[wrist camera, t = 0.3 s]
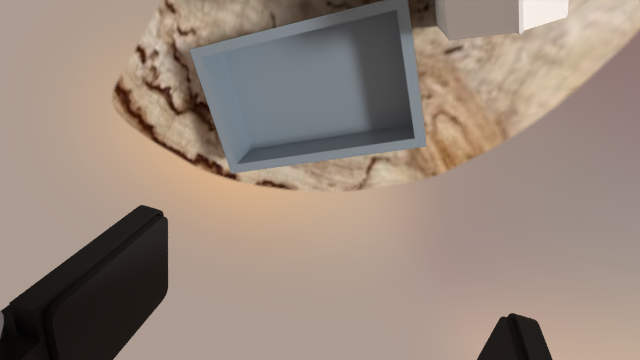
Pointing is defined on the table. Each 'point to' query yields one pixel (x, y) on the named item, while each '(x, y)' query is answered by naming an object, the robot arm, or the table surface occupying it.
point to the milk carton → (495, 16)
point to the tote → (316, 88)
